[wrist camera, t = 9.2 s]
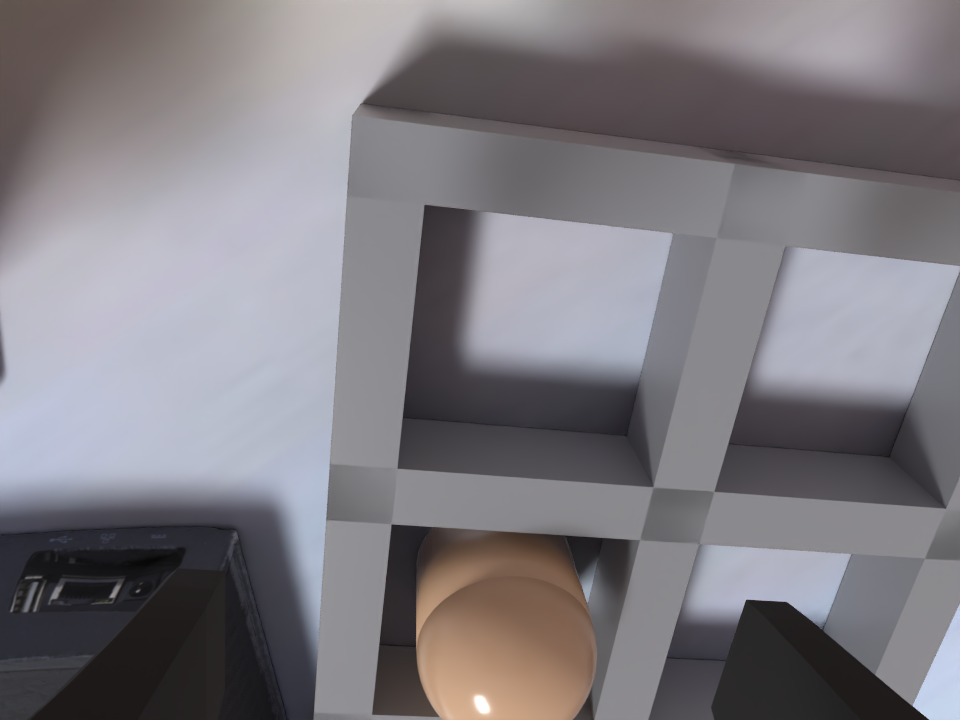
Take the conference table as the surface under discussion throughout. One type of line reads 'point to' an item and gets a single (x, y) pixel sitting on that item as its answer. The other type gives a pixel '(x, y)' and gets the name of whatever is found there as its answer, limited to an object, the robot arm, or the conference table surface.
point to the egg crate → (634, 410)
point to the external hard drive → (117, 609)
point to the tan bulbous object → (502, 626)
